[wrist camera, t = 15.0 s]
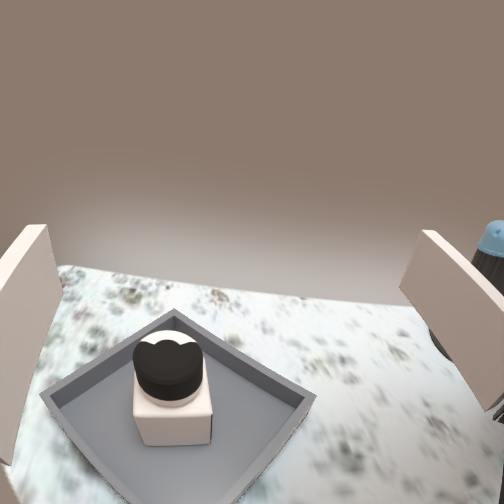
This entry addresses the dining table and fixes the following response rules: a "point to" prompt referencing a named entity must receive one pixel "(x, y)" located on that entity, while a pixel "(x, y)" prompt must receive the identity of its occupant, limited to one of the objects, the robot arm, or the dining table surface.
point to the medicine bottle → (171, 391)
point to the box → (186, 456)
